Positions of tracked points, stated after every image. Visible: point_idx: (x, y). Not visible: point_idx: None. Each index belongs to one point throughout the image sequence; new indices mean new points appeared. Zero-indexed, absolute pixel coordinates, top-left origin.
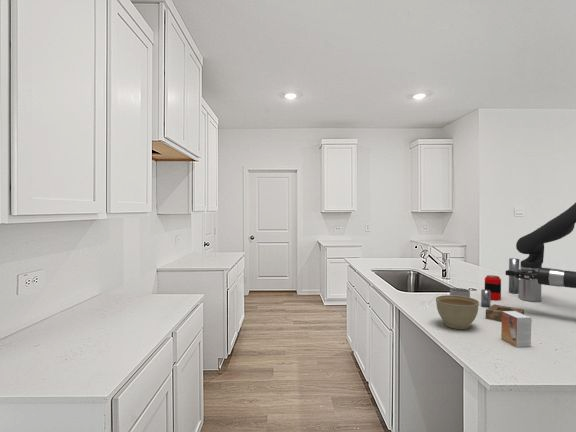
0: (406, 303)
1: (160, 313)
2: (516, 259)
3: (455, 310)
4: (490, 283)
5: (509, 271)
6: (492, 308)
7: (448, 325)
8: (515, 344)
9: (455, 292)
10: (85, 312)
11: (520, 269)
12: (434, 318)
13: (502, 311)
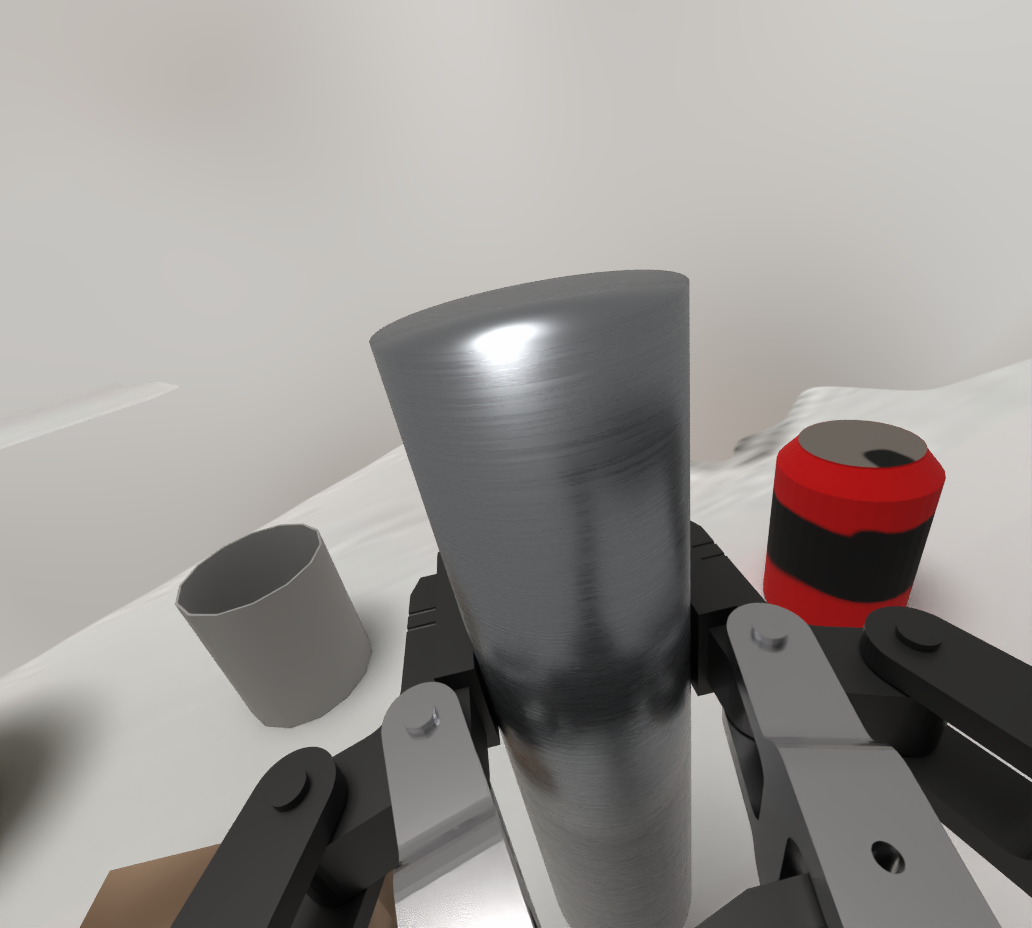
0: (325, 507)
1: (23, 433)
2: (458, 336)
3: None
4: (786, 505)
5: (442, 599)
6: (183, 894)
7: None
8: None
9: (194, 579)
10: (16, 415)
11: (872, 614)
12: (81, 685)
13: None
